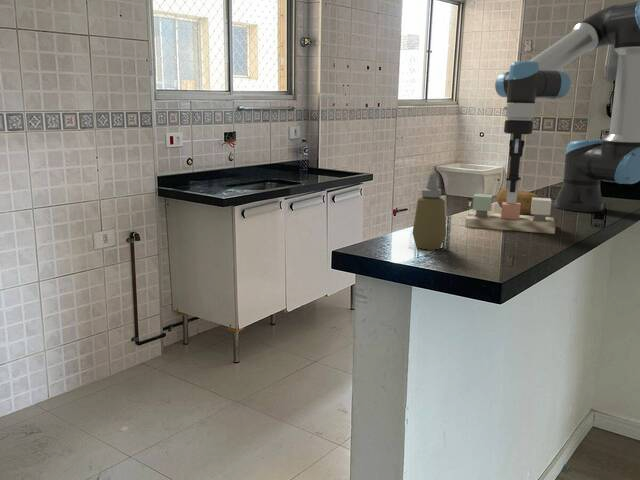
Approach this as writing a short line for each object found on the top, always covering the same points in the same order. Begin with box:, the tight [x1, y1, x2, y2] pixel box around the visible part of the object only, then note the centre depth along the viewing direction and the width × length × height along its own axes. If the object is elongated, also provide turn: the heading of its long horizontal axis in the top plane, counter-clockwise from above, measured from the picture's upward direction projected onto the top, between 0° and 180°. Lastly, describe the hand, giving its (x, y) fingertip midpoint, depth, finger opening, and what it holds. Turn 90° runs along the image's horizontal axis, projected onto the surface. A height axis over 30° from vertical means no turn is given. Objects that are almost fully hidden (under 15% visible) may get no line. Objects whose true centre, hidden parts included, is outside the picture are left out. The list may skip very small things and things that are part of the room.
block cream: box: [530, 197, 552, 222], centre depth 170 cm, size 5×5×6 cm
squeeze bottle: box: [412, 173, 447, 251], centre depth 144 cm, size 8×8×18 cm
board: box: [464, 211, 556, 235], centre depth 174 cm, size 24×12×2 cm, turn 72°
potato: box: [496, 188, 541, 216], centre depth 191 cm, size 10×14×8 cm
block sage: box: [472, 193, 493, 217], centre depth 175 cm, size 5×5×6 cm
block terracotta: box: [500, 202, 521, 220], centre depth 173 cm, size 5×5×6 cm
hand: (511, 202), depth 172 cm, fingers closed
